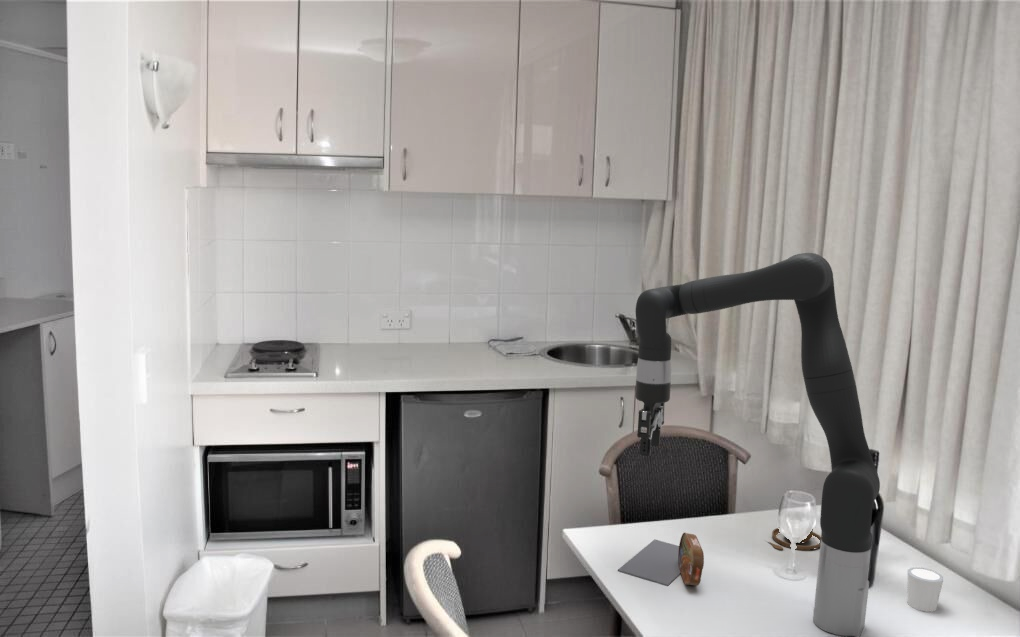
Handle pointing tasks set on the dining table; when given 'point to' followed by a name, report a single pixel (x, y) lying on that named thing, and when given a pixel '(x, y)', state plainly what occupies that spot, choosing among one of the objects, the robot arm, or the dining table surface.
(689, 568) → the tin
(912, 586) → the white cup
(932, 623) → the dining table surface
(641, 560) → the mat
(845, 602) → the robot arm
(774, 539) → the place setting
